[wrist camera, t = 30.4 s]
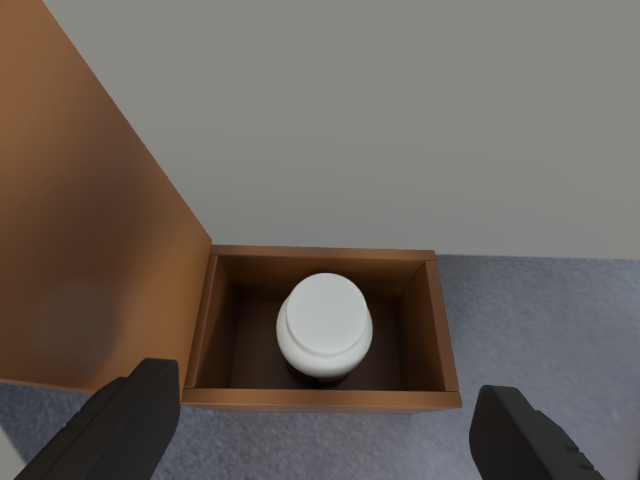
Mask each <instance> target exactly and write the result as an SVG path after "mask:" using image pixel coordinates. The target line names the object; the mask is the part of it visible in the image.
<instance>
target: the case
mask: <svg viewBox="0 0 640 480" xmlns="http://www.w3.org/2000/svg"><path fill="white" fill-rule="evenodd" d="M320 273H332V274H337V275H340V276H342V277H344V278H346V279H348V280H350V281H351V282H352V283H353V284H355V285H356V286H357V288H358V289H359V290H360V292H361V293H362V295H363V297H364V299H365V302H366V305H367V308H368V310H369V313H370V316H371V320H372V327H373V333H372V340H371V344H370V347H369V349H368V352H367V353H366V355H365V357H364V359H363V360H362V361H361V362H360V363H359V364H358V365H357V367H356V368H355V369H354V370H353V371H352V372H351V373H350V375H349V376H348V377H347V378H346V379H344V380H343V381H342V382H340V383H339V384H337V385H335V386H333V387H330V388H324V389H316V388H311V387H308V386H305V385H303V384H302V383H300V382H299V381H298V380H296V379H295V378H294V377H293V376H292V374H291V373H290V372H289V370H288V368H287V366H286V364H285V361H284V358H283V355H282V352H281V350H280V347H279V345H278V340H277V332H276V325H277V318H278V314H279V311H280V309H281V307H282V305H283V303H284V302H285V300H286V299H287V297H288V296H289V295H290V294H291V292H292V291H293V289H294V288H295V287H296V286H297V285H298V284H299V283H300V282H301V281H303V280H304V279H306V278H307V277H310V276H312V275H315V274H320ZM458 391H459V386H458V380H457V375H456V369H455V364H454V358H453V352H452V347H451V341H450V336H449V330H448V325H447V319H446V313H445V308H444V302H443V297H442V291H441V285H440V280H439V274H438V269H437V263H436V257H435V252H434V251H432V250H429V251H428V250H394V249H393V250H392V249H354V248H320V247H282V246H246V245H242V246H241V245H211V248H210V253H209V258H208V263H207V269H206V274H205V279H204V284H203V289H202V294H201V300H200V305H199V310H198V315H197V320H196V325H195V331H194V336H193V341H192V346H191V351H190V356H189V362H188V367H187V372H186V377H185V382H184V387H183V393H182V398H181V402H180V405H185V406H191V407H196V408H202V409H208V410H214V411H224V412H306V413H388V414H413V413H422V412H430V411H439V410H448V409H456V408H462V402H461V397H460V393H459V392H458Z"/></svg>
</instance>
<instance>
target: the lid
mask: <svg viewBox="0 0 640 480" xmlns="http://www.w3.org/2000/svg"><path fill="white" fill-rule="evenodd" d="M211 243H212V239H211V238H210V237H209V235H208V234H207V233H206V231H205V230H204V228H203V227H202V225H201V224H200V222H199V221H198V220H197V218H196V217H195V215H194V214H193V213H192V211H191V210H190V208H189V207H188V206H187V204H186V203H185V201H184V200H183V199H182V197H181V196H180V194H179V193H178V192H177V190H176V189H175V187H174V186H173V184H172V183H171V182H170V180H169V179H168V177H167V176H166V175H165V173H164V172H163V171H162V169H161V168H160V166H159V165H158V163H157V162H156V160H155V159H154V158H153V156H152V155H151V154H150V152H149V151H148V149H147V148H146V147H145V145H144V144H143V142H142V141H141V139H140V138H139V137H138V135H137V134H136V132H135V131H134V130H133V128H132V127H131V125H130V124H129V122H128V121H127V120H126V118H125V117H124V115H123V114H122V113H121V111H120V110H119V108H118V107H117V106H116V104H115V103H114V102H113V100H112V99H111V97H110V96H109V94H108V93H107V92H106V90H105V89H104V87H103V86H102V84H101V83H100V82H99V80H98V79H97V78H96V76H95V75H94V73H93V72H92V70H91V69H90V68H89V66H88V65H87V63H86V62H85V61H84V59H83V58H82V56H81V55H80V54H79V52H78V51H77V49H76V48H75V46H74V45H73V44H72V42H71V41H70V39H69V38H68V37H67V35H66V34H65V33H64V31H63V30H62V28H61V27H60V25H59V24H58V22H57V21H56V20H55V18H54V17H53V16H52V14H51V13H50V11H49V10H48V8H47V7H46V6H45V4H44V3H43V1H42V0H0V383H7V384H15V385H23V386H31V387H39V388H46V389H54V390H62V391H70V392H78V393H86V394H95V393H96V391H97V390H99V389H101V388H102V387H104V386H105V385H107V384H108V383H110V382H112V381H113V380H115V379H116V378H118V377H128V376H129V375H130V374H131V372H132V371H133V370H134V369H135V368H136V367H137V366H138V364H139V363H140V362H141V361H142V360H143V359H144V358H161V359H174V360H176V361H177V362H178V366H179V386H180V402H181V398H182V393H183V387H184V382H185V377H186V372H187V367H188V362H189V356H190V351H191V346H192V341H193V336H194V331H195V325H196V320H197V315H198V310H199V305H200V300H201V294H202V289H203V284H204V279H205V274H206V269H207V263H208V258H209V253H210V248H211Z"/></svg>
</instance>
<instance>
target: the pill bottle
mask: <svg viewBox="0 0 640 480" xmlns="http://www.w3.org/2000/svg"><path fill="white" fill-rule="evenodd" d="M276 332H277V340H278V345H279V347H280V350H281V352H282V355H283V358H284V361H285V364H286V366H287V368H288V370H289V372H290V373H291V374H292V376H293V377H294V378H295V379H296V380H298V381H299V382H300V383H302V384H303V385H305V386H308V387H311V388H316V389H324V388H330V387H333V386H335V385H337V384H339V383H340V382H342V381H343V380H344V379H346V378H347V377H348V376H349V375H350V373H351V372H352V371H353V370H354V369H355V368H356V367H357V365H358V364H359V363H360V362H361V361H362V360H363V359H364V357H365V355H366V353H367V352H368V349H369V347H370V344H371V340H372V333H373V327H372V320H371V316H370V313H369V310H368V308H367V305H366V302H365V299H364V297H363V295H362V293H361V292H360V290H359V289H358V288H357V286H356V285H355V284H353V283H352V282H351V281H350V280H348V279H346V278H344V277H342V276H340V275H337V274H332V273H320V274H315V275H312V276H310V277H307V278H306V279H304V280H303V281H301V282H300V283H299V284H298V285H297V286H296V287H295V288H294V289H293V291H292V292H291V294H290V295H289V296H288V297H287V299H286V300H285V302H284V303H283V305H282V307H281V309H280V311H279V314H278V318H277V325H276Z"/></svg>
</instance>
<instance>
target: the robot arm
mask: <svg viewBox="0 0 640 480" xmlns="http://www.w3.org/2000/svg"><path fill="white" fill-rule="evenodd" d="M179 416H180V386H179V366H178V362H177V361H176V360H174V359H161V358H144V359H143V360H142V361H141V362H140V363H139V364H138V366H137V367H136V368H135V369H134V370H133V371H132V372H131V374H130V375H129V376H128V377H118V378H116V379H115V380H113V381H112V382H110V383H108V384H107V385H105V386H104V387H102V388H101V389H99V390H97V391H96V393H95V394H94V395H93V396H92V397H91V398H90V399H89V400H88V401H87V402H86V403H85V404H84V405H83V406H82V407H81V410H80V412H77V413H76V414H75V415H74V416H73V417H72V418H71V419H70V420H69V421H68V422H67V423H66V426H65V428H62V429H61V430H60V431H59V432H58V433H57V434H56V435H55V436H54V437H53V438H52V439H51V440H50V441H49V442H48V443H47V445H46V446H45V447H44V448H43V449H42V450H41V451H40V452H39V453H38V454H37V455H36V456H35V457H34V458H33V459H32V460H31V461H30V463H29V464H28V465H27V466H26V467H25V468H24V469H23V470H22V471H21V472H20V473H19V474H18V475H17V476H16V477H15V478H14V480H150V479H151V477H152V475H153V473H154V471H155V469H156V467H157V465H158V463H159V462H160V460H161V458H162V456H163V454H164V452H165V450H166V448H167V447H168V445H169V443H170V441H171V439H172V437H173V435H174V433H175V431H176V428H177V425H178V421H179ZM469 445H470V450H471V454H472V457H473V460H474V462H475V464H476V466H477V468H478V471H479V473H480V475H481V477H482V479H483V480H605V479H604V478H603V477H602V476H601V474H600V473H599V472H598V471H595V470H594V466H593V465H592V464H591V462H590V461H589V460H588V459H587V458H586V456H585V455H584V454H583V453H580V452H579V448H578V447H577V446H576V445H575V443H574V442H573V441H572V440H571V439H570V437H569V436H568V435H567V434H566V433H565V431H564V430H563V429H562V428H561V427H560V426H558V425H557V424H556V423H555V422H553V421H552V420H551V419H549V418H548V417H547V416H546V415H544V414H543V413H542V412H541V411H538V410H534V409H533V407H532V406H531V405H530V404H529V402H528V401H527V400H526V399H525V397H524V396H523V395H522V394H521V392H520V391H519V390H518V389H516V388H514V387H505V386H492V385H483V386H482V387H481V389H480V391H479V395H478V399H477V403H476V407H475V411H474V415H473V419H472V423H471V427H470V432H469Z"/></svg>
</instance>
